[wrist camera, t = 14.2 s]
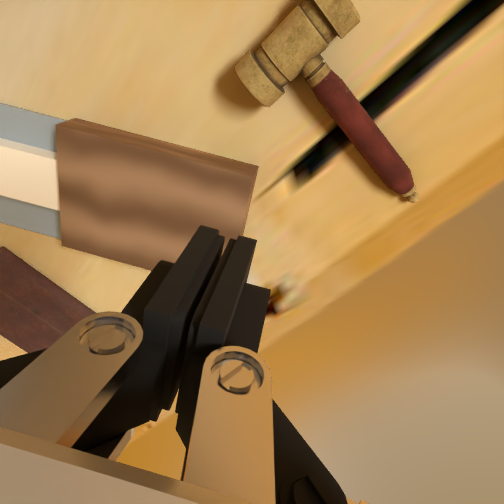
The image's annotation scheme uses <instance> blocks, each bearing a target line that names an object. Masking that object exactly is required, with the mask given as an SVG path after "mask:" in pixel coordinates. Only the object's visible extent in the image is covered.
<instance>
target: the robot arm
mask: <svg viewBox="0 0 504 504" xmlns="http://www.w3.org/2000/svg"><path fill="white" fill-rule="evenodd" d="M224 241H225V236H221V235H219V230H218V229H214V228H211V227H207V226H203V225H200V226H199V228H198V229H197V231H196V232H195V234H194V235H193V237H192V238H191V240H190V241H189V243H188V244H187V246H186V247H185V249H184V250H183V252H182V253H181V255H180V256H179V258H178V259H177V261H176V262H175V263H172V262H168V261H165V260H160V261H159V262H158V263H157V265H156V266H155V267H154V269H153V270H152V271H151V273H150V274H149V275H148V277H147V278H146V280H145V281H144V282H143V284H142V285H141V286H140V288H139V289H138V290H137V292H136V293H135V294H134V296H133V297H132V298H131V300H130V301H129V302H128V304H127V305H126V306H125V308H124V309H123V310H122V312H121V313H119V312H101V313H96V314H93V315H90V316H87V317H86V318H84V319H82V320H81V321H79V322H78V323H77V324H76V325H74V326H73V327H72V328H71V329H70V330H69V331H68V332H66V333H65V334H64V335H63V336H62V337H61V338H59V339H58V340H57V341H56V342H55V343H54V344H52V345H51V346H50V347H49V348H46V349H42V350H39V351H35V352H31V353H28V354H24V355H20V356H17V357H13V358H9V359H6V360H2V361H0V504H357V503H355V502H353V501H352V500H350V499H348V498H346V496H345V494H344V492H343V491H342V489H341V487H340V486H339V484H338V483H337V481H336V480H335V479H334V478H333V476H332V475H331V474H330V472H329V471H328V470H327V468H326V467H325V466H324V465H323V463H322V462H321V461H320V459H319V458H318V457H317V456H316V454H315V453H314V452H313V450H312V449H311V448H310V447H309V445H308V444H307V443H306V441H305V440H304V439H303V438H302V436H301V435H300V434H299V433H298V432H297V430H296V429H295V427H294V426H293V425H292V423H291V422H290V421H289V420H288V418H287V417H286V416H285V415H284V413H283V412H282V411H281V409H280V408H279V407H278V405H277V404H276V403H275V401H274V400H273V399H272V377H271V372H270V368H269V367H268V365H267V363H266V362H265V360H264V359H263V358H261V357H260V356H259V355H258V354H257V352H258V348H259V343H260V338H261V334H262V329H263V324H264V320H265V315H266V310H267V306H268V301H269V296H270V291H271V290H270V289H266V288H263V287H259V286H255V285H252V284H248V283H246V282H247V278H248V274H249V270H250V266H251V262H252V258H253V254H254V250H255V246H256V242H257V240H255V239H251V238H247V237H244V236H240V235H239V236H238V238H237V240H236V239H232V238H230V240H229V242H228V244H227V246H226V248H225V250H224V252H223V254H222V251H223V246H224ZM178 389H179V392H178V398H177V404H176V410H175V412H176V413H178V419H177V425H176V431H177V432H178V434H179V436H180V438H181V440H182V442H183V444H184V446H185V447H186V451H185V456H184V462H183V468H182V473H181V479H180V480H176V479H173V478H170V477H166V476H163V475H160V474H156V473H153V472H150V471H146V470H143V469H139V468H136V467H132V466H129V465H126V464H123V463H120V462H116V460H117V458H118V457H119V456H120V454H121V453H122V451H123V450H124V448H125V447H126V445H127V444H128V442H129V441H130V439H131V437H132V435H133V433H134V430H135V427H137V426H139V425H142V424H144V423H146V422H149V421H150V420H152V421H155V422H156V421H157V419H158V417H159V415H160V412H161V410H162V409H165V410H168V411H169V410H170V408H171V406H172V403H173V401H174V399H175V396H176V394H177V391H178ZM358 504H368V503H367V502H365V501H363V500H361V501H360V502H359V503H358Z"/></svg>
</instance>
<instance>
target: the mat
mask: <svg viewBox="0 0 504 504" xmlns="http://www.w3.org/2000/svg"><path fill="white" fill-rule="evenodd" d="M65 121H67V120H63V119H59V118H55V117H52V116H48V115H44V114H40V113H36V112H33V111H29V110H25V109H21V108H18V107H14V106H10V105H6V104H2V103H0V138H2V139H6V140H10V141H14V142H18V143H22V144H26V145H29V146H33V147H37V148H41V149H45V150H49V151H53V152H57V145H56V127H55V124H59V123H62V122H65ZM0 223H4V224H8V225H11V226H15V227H18V228H22V229H26V230H29V231H33V232H37V233H40V234H44V235H47V236H51V237H55V238H58V239H62V238H61V219H60V211H59V210H55V209H51V208H47V207H43V206H40V205H36V204H32V203H28V202H24V201H21V200H17V199H13V198H9V197H5V196H2V195H0Z"/></svg>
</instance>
